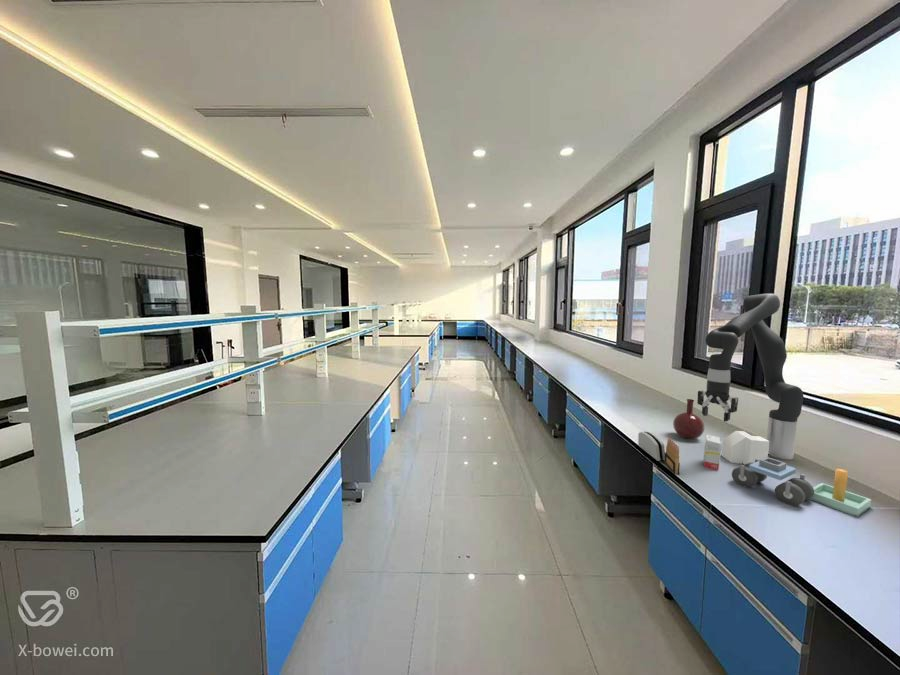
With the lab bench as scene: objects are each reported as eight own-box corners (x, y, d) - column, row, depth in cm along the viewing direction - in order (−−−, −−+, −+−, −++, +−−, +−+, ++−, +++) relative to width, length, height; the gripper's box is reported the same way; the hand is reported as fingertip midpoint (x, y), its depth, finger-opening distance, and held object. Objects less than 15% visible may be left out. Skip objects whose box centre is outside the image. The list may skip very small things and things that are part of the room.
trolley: (745, 475, 139) (748, 448, 137) (814, 501, 121) (818, 469, 120) (729, 482, 133) (732, 453, 132) (799, 510, 115) (802, 477, 114)
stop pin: (833, 497, 122) (837, 468, 121) (845, 501, 119) (849, 471, 118) (830, 499, 121) (834, 469, 119) (842, 504, 118) (846, 473, 117)
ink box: (718, 471, 143) (721, 443, 141) (704, 467, 145) (706, 440, 144) (717, 463, 150) (719, 436, 148) (703, 460, 152) (705, 434, 151)
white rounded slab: (669, 463, 149) (667, 441, 148) (657, 464, 149) (656, 442, 148) (648, 447, 165) (647, 427, 164) (638, 448, 166) (637, 428, 165)
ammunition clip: (679, 475, 139) (681, 447, 137) (673, 475, 139) (676, 446, 138) (669, 463, 149) (670, 436, 148) (664, 463, 149) (666, 436, 148)
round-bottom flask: (702, 436, 179) (705, 398, 177) (704, 445, 168) (707, 405, 166) (672, 431, 186) (674, 395, 184) (672, 439, 175) (675, 401, 173)
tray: (820, 490, 128) (821, 482, 128) (870, 507, 117) (871, 499, 117) (806, 498, 123) (807, 490, 122) (857, 517, 112) (858, 508, 112)
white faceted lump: (766, 469, 144) (769, 441, 143) (735, 466, 147) (738, 439, 145) (750, 457, 155) (752, 431, 154) (721, 455, 157) (723, 429, 156)
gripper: (694, 377, 148) (691, 414, 150) (734, 384, 135) (730, 425, 137) (704, 375, 151) (701, 412, 153) (744, 382, 139) (740, 422, 140)
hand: (715, 418), depth 145 cm, fingers open, 7 cm apart
